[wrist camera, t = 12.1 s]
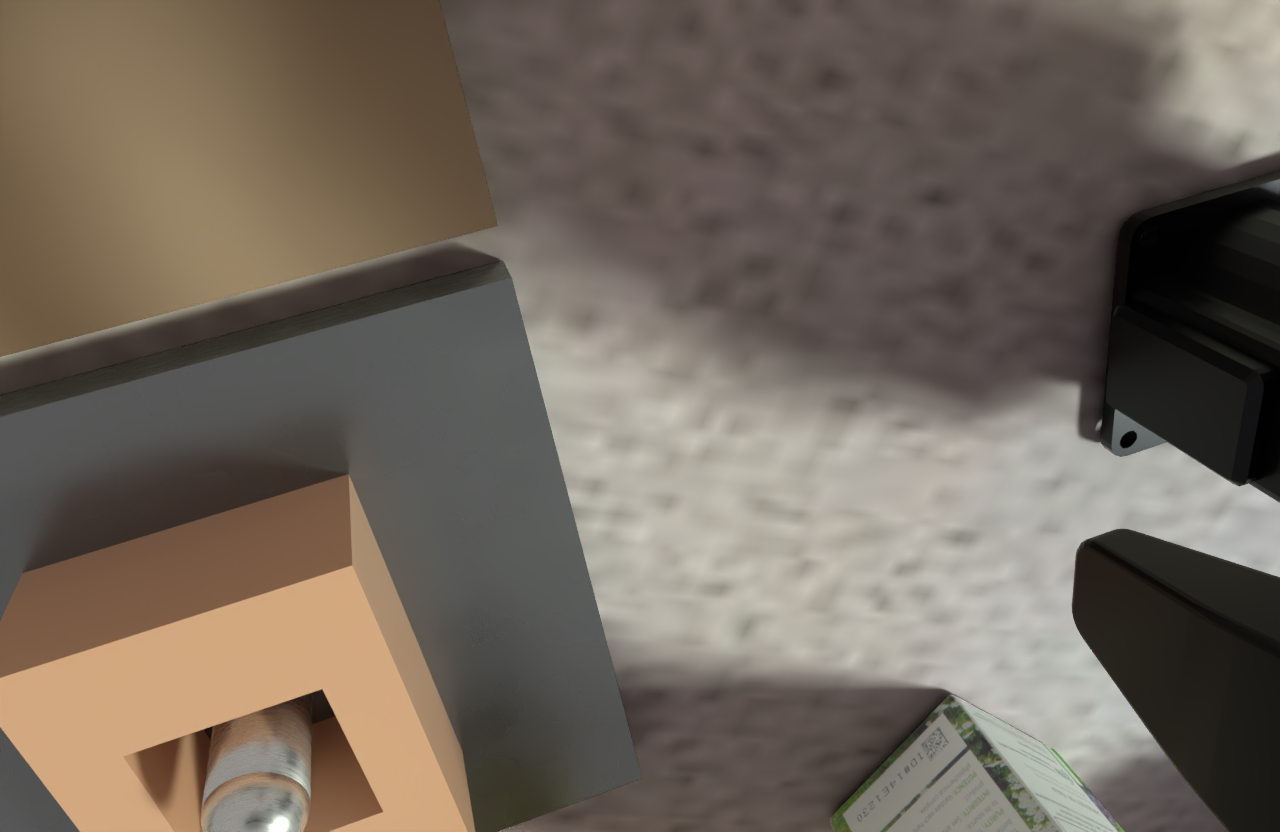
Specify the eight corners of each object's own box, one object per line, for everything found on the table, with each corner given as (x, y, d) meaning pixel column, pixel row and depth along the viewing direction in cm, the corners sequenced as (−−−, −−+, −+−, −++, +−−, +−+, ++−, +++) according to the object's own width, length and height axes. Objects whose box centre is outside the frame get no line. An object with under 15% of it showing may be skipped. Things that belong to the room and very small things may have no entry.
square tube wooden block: (348, 473, 18) (352, 564, 16) (462, 751, 22) (480, 859, 20) (21, 573, 17) (-30, 687, 15) (202, 844, 21) (185, 969, 19)
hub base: (502, 260, 18) (561, 378, 14) (631, 749, 25) (698, 934, 21) (-302, 477, 16) (-553, 704, 12) (85, 946, 23) (26, 1202, 19)
